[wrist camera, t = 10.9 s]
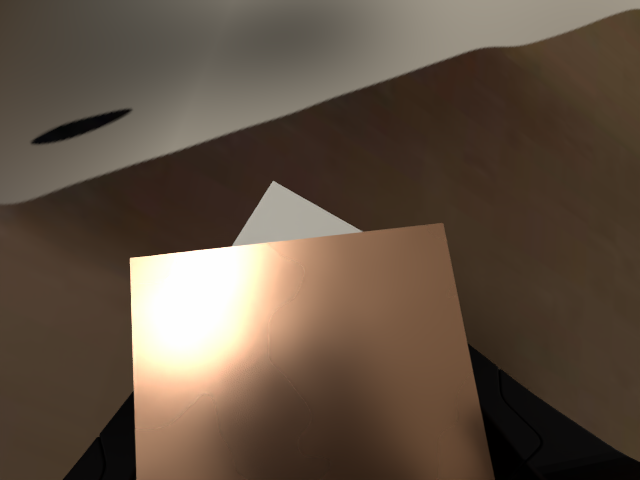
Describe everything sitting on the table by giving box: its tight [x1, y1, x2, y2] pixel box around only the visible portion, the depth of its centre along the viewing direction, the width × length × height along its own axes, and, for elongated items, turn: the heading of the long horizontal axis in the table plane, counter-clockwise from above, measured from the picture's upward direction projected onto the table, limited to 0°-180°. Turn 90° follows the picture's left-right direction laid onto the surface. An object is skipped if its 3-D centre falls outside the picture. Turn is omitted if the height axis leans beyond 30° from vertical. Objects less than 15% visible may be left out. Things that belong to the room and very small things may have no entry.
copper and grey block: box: [130, 223, 495, 480], centre depth 10 cm, size 6×6×9 cm
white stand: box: [232, 181, 362, 247], centre depth 21 cm, size 14×14×3 cm
